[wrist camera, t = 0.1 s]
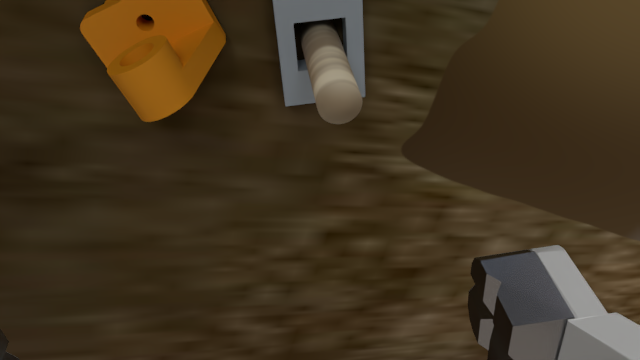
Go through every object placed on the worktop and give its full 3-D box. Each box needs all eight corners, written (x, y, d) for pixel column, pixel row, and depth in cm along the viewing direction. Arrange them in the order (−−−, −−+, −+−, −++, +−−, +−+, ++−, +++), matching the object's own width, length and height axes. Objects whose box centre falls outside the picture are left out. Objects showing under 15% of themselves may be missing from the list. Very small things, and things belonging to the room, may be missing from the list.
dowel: (297, 18, 57) (315, 86, 46) (335, 14, 58) (361, 80, 46) (301, 54, 60) (318, 126, 48) (337, 49, 60) (363, 121, 48)
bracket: (185, -40, 53) (176, 8, 44) (225, 31, 57) (225, 89, 48) (81, 12, 55) (49, 70, 45) (127, 77, 59) (107, 143, 49)
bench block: (269, -24, 55) (271, -14, 53) (356, -33, 55) (361, -25, 53) (283, 94, 62) (285, 106, 60) (360, 85, 62) (365, 96, 60)
